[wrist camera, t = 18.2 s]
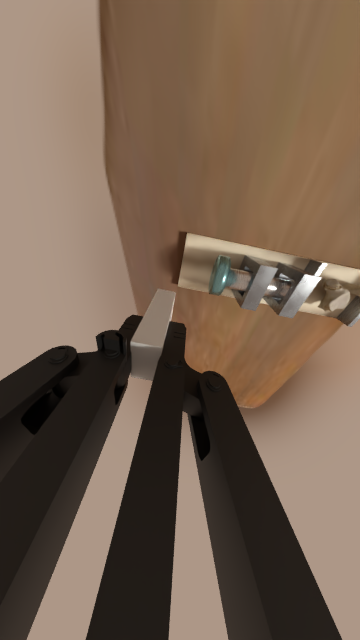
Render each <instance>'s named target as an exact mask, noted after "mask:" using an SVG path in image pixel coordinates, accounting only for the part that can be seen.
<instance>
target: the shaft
mask: <svg viewBox="0 0 360 640" xmlns="http://www.w3.org/2000/svg"><path fill="white" fill-rule="evenodd" d="M252 275H253V273H251V272H247V271H242V270H237V269H232V268H231V259H230V257H227V256H222V255H218V257H217V258H216V260H215V263H214V265H213V268H212V272H211V276H210V281H209V288H208V291H209V294H213V295H218V296H219V295H221V294H222V292H223V290H224V288H225V287H226V288H231V289H236V290H241V291H245V290H246V288H247V286H248V284H249V282H250V279H251V277H252ZM293 282H294V281H290V280H285V279H280V278H276V277H273V279H272V281H271V283H270V284H269V286H268V288H267V290H266V292H265V294H264V295H266V296H271V297H276V298H281V299H283V298H284V297H285V295H286V294H287V292H288V290H289V289H290V287H291V286H292V284H293Z"/></svg>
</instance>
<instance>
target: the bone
mask: <svg viewBox="0 0 360 640" xmlns="http://www.w3.org/2000/svg"><path fill="white" fill-rule="evenodd" d="M322 282H323V284H322V286H323V287H324V289H325V290H326V293H325V296H324V298H323V299H322V300H321V302H320V304H319V306H318V307H319V308H321V309H323V310H324V311H325V312H327V310H329V311H331V312H332V311H334V310H335V309H344V308H345V307H346V306H347V304H348V302H349V300H350V293H351V294H355V295H358V296H359V297H360V285H356V284H351V283H349V284H346V285H340V284H339V282H338V281H337V280H336V279H327V280H326V279H325V278H323V279H322Z"/></svg>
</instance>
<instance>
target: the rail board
mask: <svg viewBox="0 0 360 640" xmlns="http://www.w3.org/2000/svg"><path fill="white" fill-rule="evenodd" d="M218 255H222V256H227V257H230V259H231V268H232V269H237V270H239V269H240V266H241V264H242V261H243V258H244V256H245V255H248V256H253V257H257V258H260V259H261V260H263V261H265V262H267V263H269V264H270V265H272V266H274V267H276V266H277V264H278V263H279V262H281V263H286V264H290V265H293V266H296V267H298V268H300V269H303V270H304V269H305V268H306V266H307V264H308V263H309V261H310V260H311V259H309V258H305V257H300V256H295V255H291V254H286V253H281V252H277V251H272V250H267V249H263V248H258V247H253V246H249V245H244V244H239V243H235V242H230V241H225V240H221V239H216V238H211V237H207V236H202V235H197V234H193V233H187V238H186V243H185V249H184V254H183V260H182V266H181V271H180V277H179V282H178V287H183V288H188V289H193V290H198V291H203V292H208V293H209V291H208V288H209V281H210V276H211V272H212V268H213V265H214V263H215V260H216V258H217V257H218ZM312 260H314V259H312ZM316 261H319V260H316ZM319 262H322V263H325V264H327V265H326V267H325V268H324V269H323V271H322V272H321V274H320V275H319V277H321V279H320V281H319V282H318V284H317V285H316V286H315V288H314V289H313V291H312V292H311V293H310V295H309V296H308V298H307V299H306V300H305V302H304V303H303V305H302V306H301V307H300V309H299V310H298V311H303V312H308V313H313V314H318V315H323V316H328V317H333V318H337V317H338V316H339V314H340V313H341V312H342V311H343V310H344V309H345V308H346V307H347V306H348V305H349V303H350V302H351V301H352V300H353V299H354V298H355V297H356V296H357V295H355V294H351V293H350V300H349V302H348V304H347V306H346V307H345V308H344V309H335V310H334V311H332V312H331V311H329V310H327V312H325V311H324V310H323V309H321V308H319V307H318V306H319V304H320V302H321V300H322V299H323V298H324V296H325V293H326V290H325V289H324V287H323V286H322V284H323V282H322V279H323V278H325V279H326V280H327V279H336V280H337V281H338V282H339V284H340V285H346V284H349V283H351V284H356V285H360V269H356V268H352V267H347V266H342V265H338V264H333V263H328V262H324V261H319ZM292 281H293V280H292ZM221 295H223V296H228V297H233V298H235V296H234V295H233V293H232V291H231V288H226V287H225V288H224V290H223V292H222V294H221ZM260 303H263V304H268V303H267V302H266V301H265V300H264V299H263V298H262V299H261V301H260Z"/></svg>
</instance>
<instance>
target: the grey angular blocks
mask: <svg viewBox="0 0 360 640" xmlns="http://www.w3.org/2000/svg"><path fill="white" fill-rule="evenodd" d="M326 265H327V264H325V263H322V262H319V261H316V260H312V259H311V260H310V261H309V263H308V264H307V266H306V268H305V269H304V270H303V269H300V268H298V267H296V266H293V265H290V264H286V263H281V262H279V263H278V264H277V266H276V267H274V266H272V265H270V264H269V263H267V262H265V261H263V260H261V259H260V258H257V257H253V256H248V255H245V256H244V258H243V261H242V264H241V266H240V269H239V270H242V271H247V272H251V273H253V275H252V277H251V279H250V282H249V284H248V286H247V288H246V290H245V291H241V290H236V289H231V291H232V293H233V295H234V296H235V298H236V300H237V302H238V304H239V305H240V307H241V308H243V309H248V310H254V311H256V309H257V307H258V305H259V303H260V301H261V299H262V298H263V299H264V300H265V301H266V302H267V303H268V305H269V306H270V307H271V308H272V309H273V310H274V311H275V312H276V313H277V314H278V315H279V316H284V317H289V318H293V317H294V316H295V314H296V313H297V311H298V310H299V309H300V307H301V306H302V305H303V303H304V302H305V300H306V299H307V298H308V296H309V295H310V293H311V292H312V291H313V289H314V288H315V286H316V285H317V284H318V282H319V281H320V279H321V277H319V275H320V274H321V272H322V271H323V269H324V268H325V267H326ZM273 277H276V278H280V279H285V280H290V281H292V280H293V281H294V282H293V284H292V286H291V287H290V289H289V290H288V292H287V294H286V295H285V297H284V298H283V299H281V298H276V297H271V296H266V295H264V294H265V292H266V290H267V288H268V286H269V284H270V283H271V281H272V279H273ZM337 319H338V320H340V321H341V322H343V323H344V324H346V325H347V326H350V327H351V326H353V325H354V324H355V323H356V322H357V321H358V320H359V319H360V297H359V296H358V295H357V296H356V297H355V298H354V299H353V300H352V301H351V302H350V303H349V305H348V306H347V307H346V308H345V309H344V310H343V311H342V312H341V313H340V314H339V316H338V317H337Z"/></svg>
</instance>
